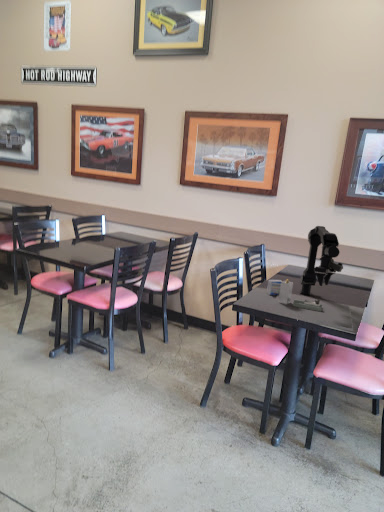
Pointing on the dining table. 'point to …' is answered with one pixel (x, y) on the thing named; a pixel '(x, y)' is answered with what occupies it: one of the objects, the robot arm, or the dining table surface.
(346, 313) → the dining table surface
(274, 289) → the medicine box
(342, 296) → the dining table surface
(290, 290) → the housing
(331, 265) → the robot arm
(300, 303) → the press bed
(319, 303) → the ram
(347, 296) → the dining table surface
